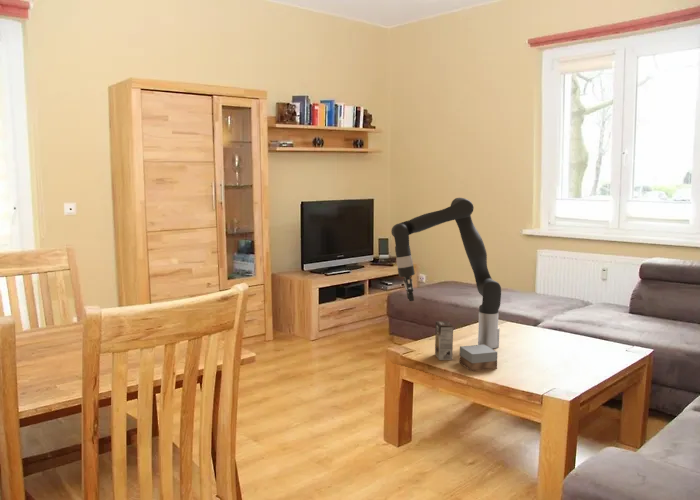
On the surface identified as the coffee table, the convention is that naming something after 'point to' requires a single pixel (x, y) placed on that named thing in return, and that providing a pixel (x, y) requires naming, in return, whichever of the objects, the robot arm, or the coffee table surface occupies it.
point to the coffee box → (444, 340)
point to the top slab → (478, 353)
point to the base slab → (478, 365)
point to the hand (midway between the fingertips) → (410, 299)
